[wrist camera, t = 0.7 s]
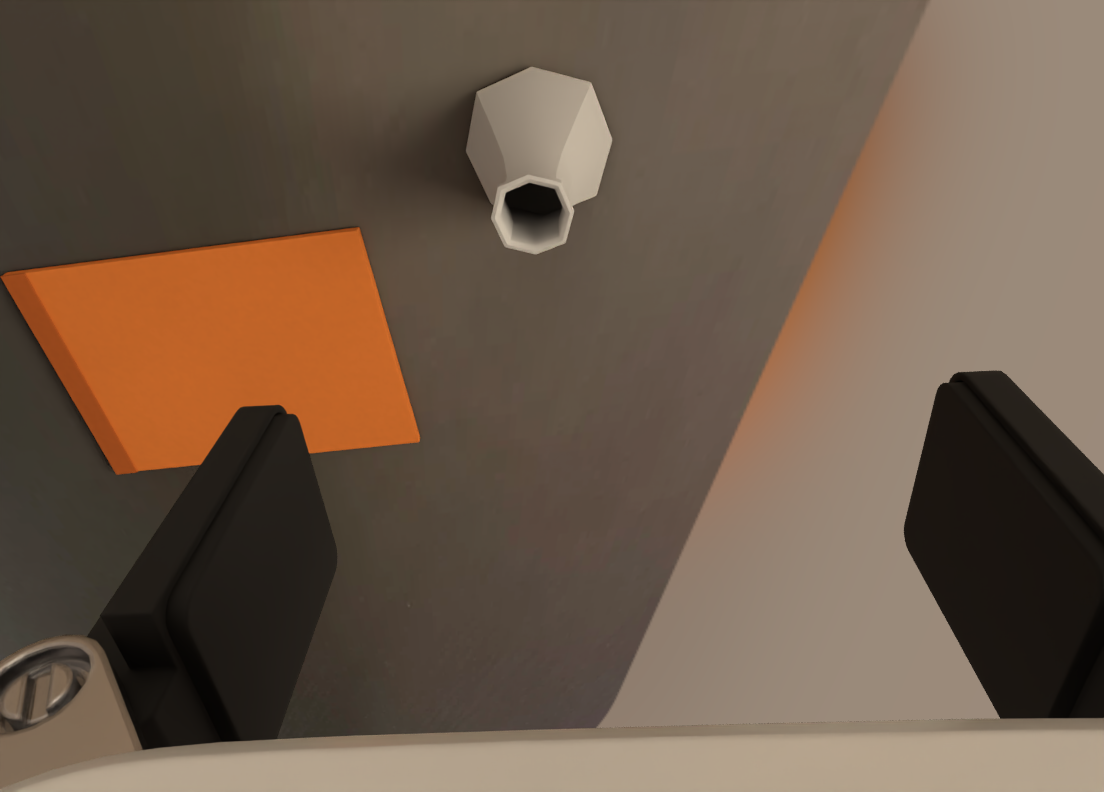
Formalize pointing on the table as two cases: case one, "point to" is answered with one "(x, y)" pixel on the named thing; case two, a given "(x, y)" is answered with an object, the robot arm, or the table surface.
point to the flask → (537, 154)
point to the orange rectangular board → (221, 345)
